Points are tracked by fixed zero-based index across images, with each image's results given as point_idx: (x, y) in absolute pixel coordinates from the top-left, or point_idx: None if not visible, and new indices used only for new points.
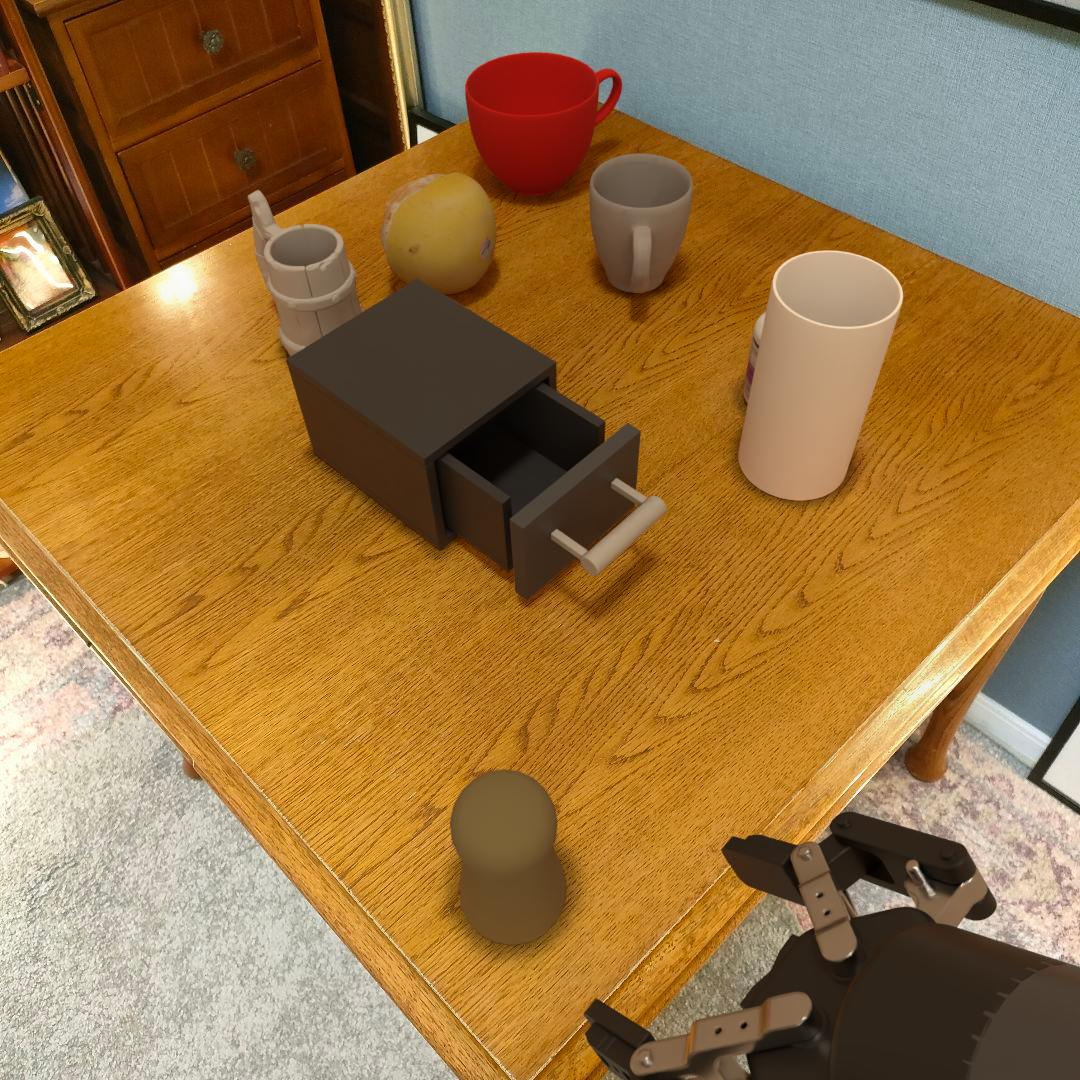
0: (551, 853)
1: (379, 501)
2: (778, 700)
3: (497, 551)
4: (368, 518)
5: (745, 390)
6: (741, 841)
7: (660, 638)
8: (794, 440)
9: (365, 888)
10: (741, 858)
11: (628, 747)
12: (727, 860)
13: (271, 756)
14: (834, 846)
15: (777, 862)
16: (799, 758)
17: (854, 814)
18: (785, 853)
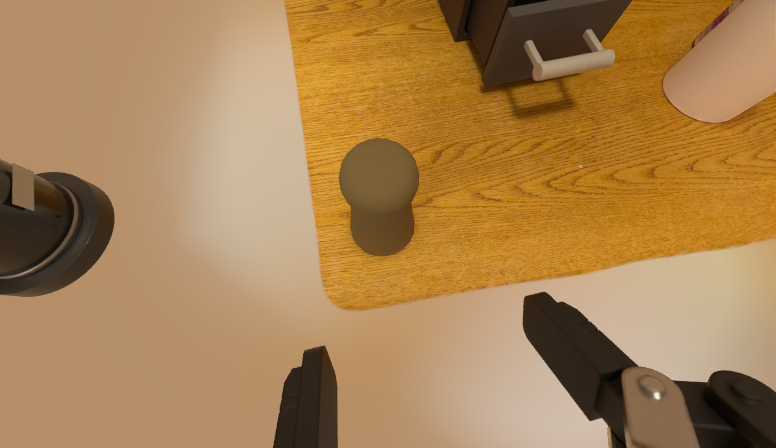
0: (404, 216)
1: (439, 1)
2: (596, 218)
3: (485, 47)
4: (429, 8)
5: (701, 35)
6: (554, 304)
7: (547, 147)
8: (738, 62)
9: (314, 180)
10: (543, 319)
11: (489, 192)
12: (524, 307)
13: (311, 96)
14: (700, 406)
15: (596, 364)
16: (587, 256)
17: (771, 393)
18: (613, 361)
